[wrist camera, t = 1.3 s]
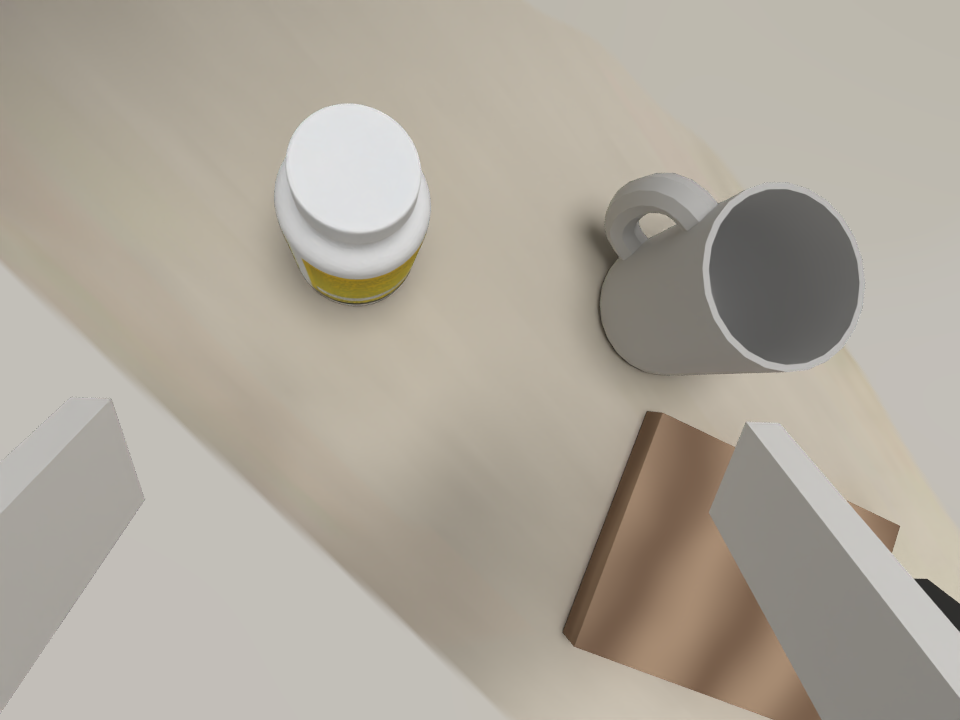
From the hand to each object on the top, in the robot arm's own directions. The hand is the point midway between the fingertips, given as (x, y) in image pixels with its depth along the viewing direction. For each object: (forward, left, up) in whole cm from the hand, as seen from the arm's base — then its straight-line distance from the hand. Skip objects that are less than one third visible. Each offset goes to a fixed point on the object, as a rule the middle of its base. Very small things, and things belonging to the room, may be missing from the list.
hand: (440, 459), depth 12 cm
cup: (+9, +11, -14) cm, 21 cm away
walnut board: (+20, 0, -14) cm, 25 cm away
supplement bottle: (-5, +7, -14) cm, 17 cm away
